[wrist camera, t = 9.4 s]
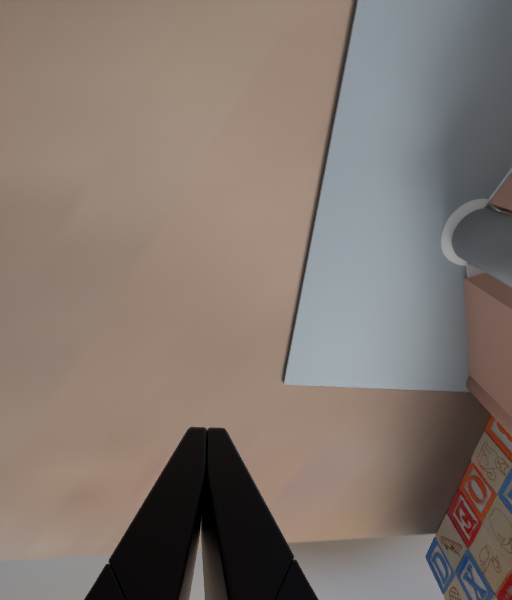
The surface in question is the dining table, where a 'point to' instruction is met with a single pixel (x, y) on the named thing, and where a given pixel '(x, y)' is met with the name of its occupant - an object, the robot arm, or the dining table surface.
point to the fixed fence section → (490, 345)
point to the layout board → (404, 195)
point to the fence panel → (488, 237)
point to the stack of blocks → (478, 526)
